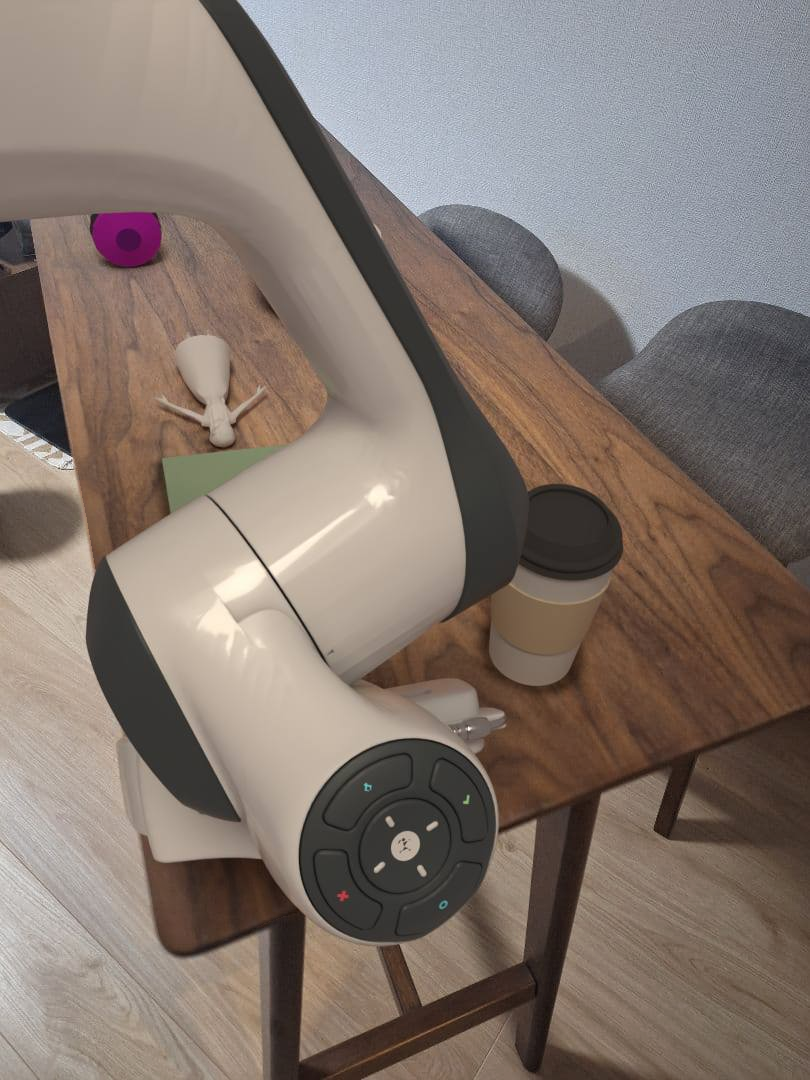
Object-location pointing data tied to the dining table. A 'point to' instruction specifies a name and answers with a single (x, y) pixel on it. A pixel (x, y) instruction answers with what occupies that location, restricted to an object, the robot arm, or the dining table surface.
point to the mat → (206, 472)
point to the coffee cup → (554, 584)
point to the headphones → (126, 236)
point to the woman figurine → (209, 384)
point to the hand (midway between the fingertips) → (287, 724)
